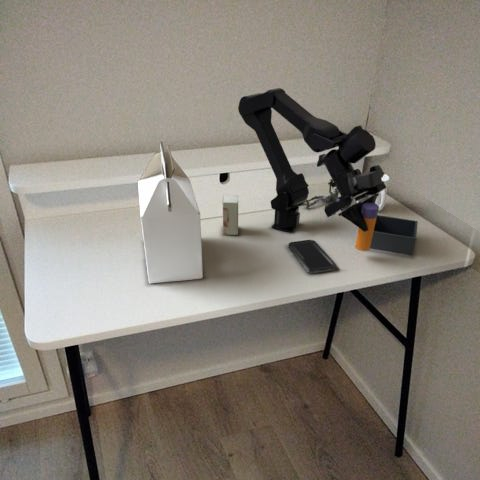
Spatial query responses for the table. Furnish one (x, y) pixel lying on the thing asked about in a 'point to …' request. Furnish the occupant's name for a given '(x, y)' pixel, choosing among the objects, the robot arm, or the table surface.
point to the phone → (311, 256)
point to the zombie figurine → (324, 198)
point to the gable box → (169, 221)
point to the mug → (382, 193)
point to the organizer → (394, 235)
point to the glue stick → (370, 218)
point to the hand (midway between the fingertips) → (371, 228)
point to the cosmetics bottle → (230, 214)
